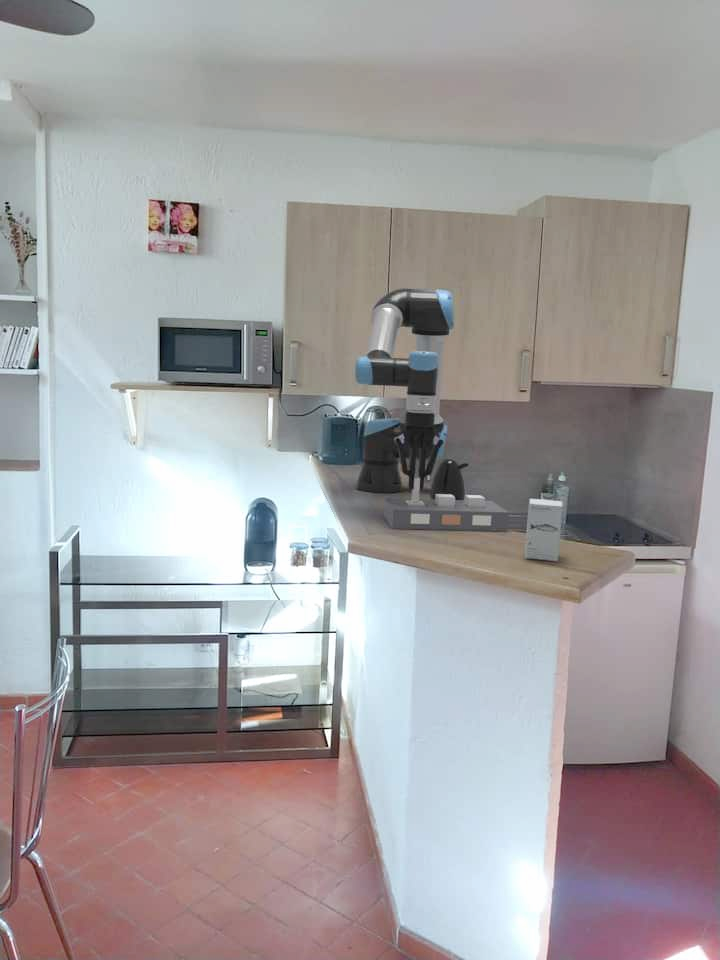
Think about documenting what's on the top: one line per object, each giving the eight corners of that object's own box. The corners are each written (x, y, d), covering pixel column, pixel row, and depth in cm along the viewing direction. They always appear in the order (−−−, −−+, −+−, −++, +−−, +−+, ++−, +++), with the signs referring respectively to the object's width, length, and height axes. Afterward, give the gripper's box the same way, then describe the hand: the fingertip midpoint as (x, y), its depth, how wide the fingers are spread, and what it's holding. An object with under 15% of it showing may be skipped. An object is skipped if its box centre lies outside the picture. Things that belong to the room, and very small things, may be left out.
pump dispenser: (463, 515, 222) (467, 462, 220) (427, 512, 224) (430, 459, 222) (466, 509, 232) (470, 458, 230) (431, 506, 234) (434, 455, 232)
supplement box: (523, 559, 175) (528, 502, 174) (524, 551, 183) (529, 497, 181) (558, 562, 174) (563, 505, 172) (557, 554, 181) (562, 500, 179)
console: (383, 516, 216) (384, 498, 215) (490, 518, 219) (491, 501, 219) (392, 529, 200) (393, 509, 199) (507, 531, 203) (509, 512, 203)
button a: (404, 516, 211) (405, 500, 210) (420, 516, 211) (421, 500, 210) (407, 519, 206) (408, 503, 206) (423, 520, 207) (424, 504, 206)
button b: (434, 509, 211) (435, 494, 211) (450, 510, 212) (451, 494, 211) (437, 513, 207) (438, 496, 206) (454, 513, 207) (455, 497, 207)
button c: (463, 510, 212) (464, 494, 212) (479, 511, 213) (480, 495, 212) (467, 513, 208) (468, 497, 207) (484, 514, 208) (485, 498, 208)
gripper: (397, 411, 200) (392, 503, 204) (448, 413, 202) (442, 504, 205) (393, 409, 207) (388, 498, 211) (441, 411, 209) (436, 499, 212)
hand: (415, 501), depth 208 cm, fingers closed
